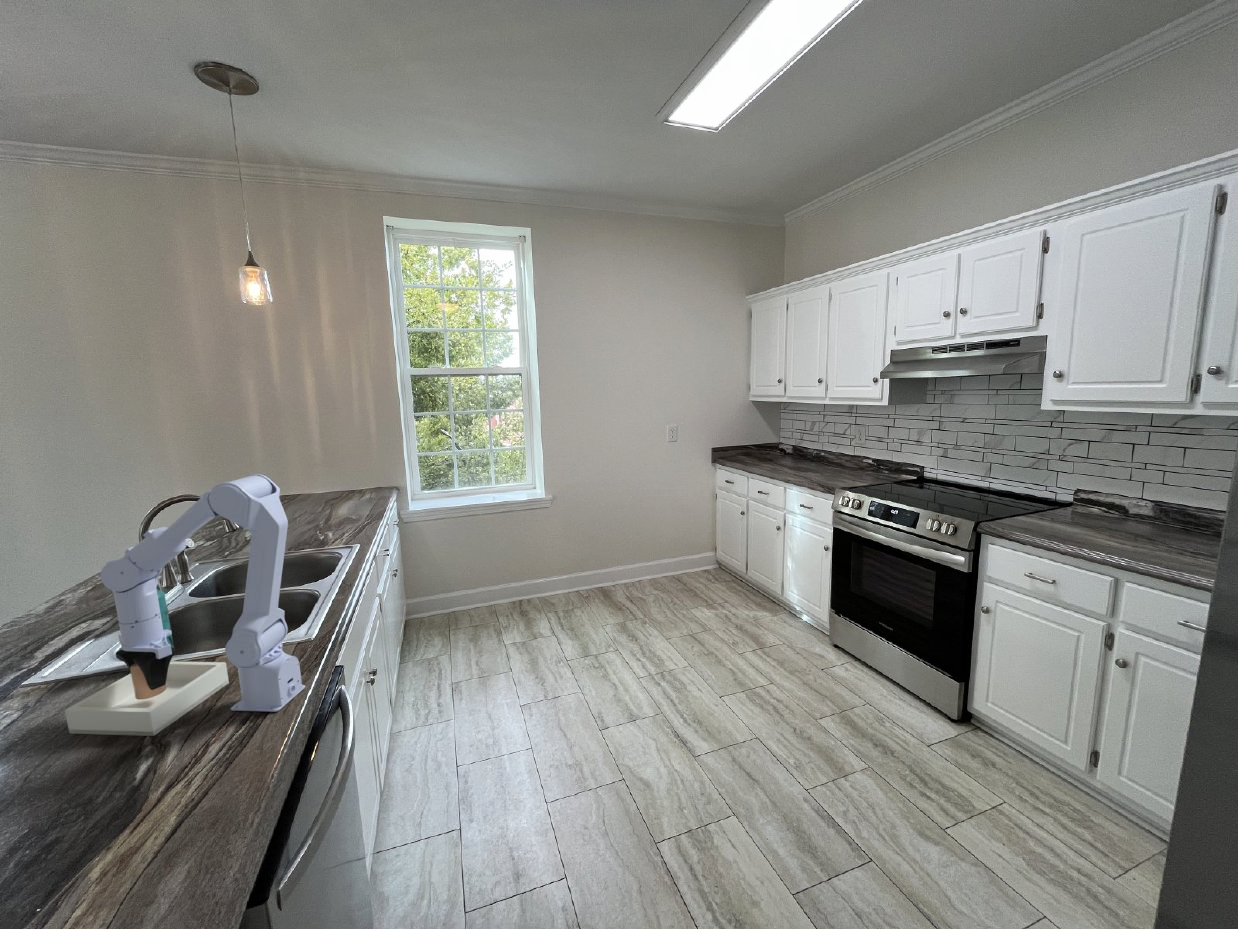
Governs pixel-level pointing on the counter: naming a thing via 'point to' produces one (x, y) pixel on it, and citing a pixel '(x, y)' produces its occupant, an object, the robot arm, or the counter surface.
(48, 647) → the counter surface
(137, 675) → the peach cylinder
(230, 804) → the counter surface
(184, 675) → the bin
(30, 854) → the counter surface
